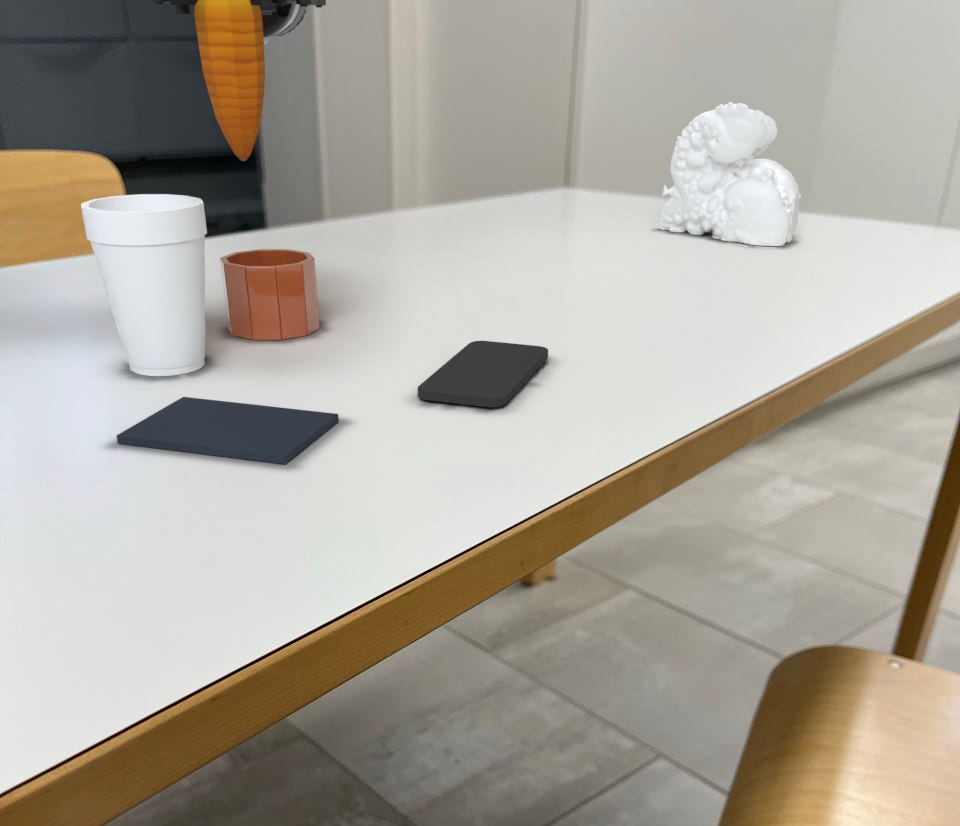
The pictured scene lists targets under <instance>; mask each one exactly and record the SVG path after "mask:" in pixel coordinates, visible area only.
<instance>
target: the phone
mask: <svg viewBox="0 0 960 826" xmlns="http://www.w3.org/2000/svg"><path fill="white" fill-rule="evenodd" d="M548 358H549V348H547V347H545V346H540V345H533V344H532V345H531V344H521V343H512V342H502V341H490V340H474V341H471V342H469V343H467V344H466V345H465V346H464V347H463V348H462V349H460V350H459V351H458V352H457V353H456V354H454V355H453V356H452V357H451V358H450V359H449V360H448V361H447V362H445V363H444V364H443V365H441V366H440V368H438V369H437V370H436V371H435V372H433V373H432V374H431V375H430V376H429V377H428V378H426V379H425V380H424V381H423V382H422V383H420V384H419V385H418V386H417V397H418V398H419V399H420V400H423V401H428V402H429V401H430V402H438V403H447V404H456V405H464V406H465V405H466V406H471V407H472V406H474V407H481V408H501V407H503V406H506V404H508V403H509V402H510V400H511V399H512V398H513V397H514V396H515V395H516V394H517V393H518V391H519V390H520V389H521V388H522V387H524V385H525V384H526V383H527V382H528V381H529V379H530V378H531V377H532V376H534V374H535V373H536V372H537V371H538V370H539V369H540V367H542V365H543V364H544V363H545V362H546V361H547V360H548Z"/></svg>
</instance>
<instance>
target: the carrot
mask: <svg viewBox="0 0 960 826" xmlns="http://www.w3.org/2000/svg"><path fill="white" fill-rule="evenodd" d="M193 11H194V22H195V30H196V36H197V43H198V50H199V55H200V61H201V62H200V63H201V69H202V74H203V77H204V81H205V85H206V88H207V92H208V96H209V98H210V102H211V105H212V109H213V113H214V116H215V119H216V120H217V123H218V125H219V127H220V129H221V132H222V134H223V136H224V139H226V142H227V143H228V145H229V147H230V149H231V150H232V152H233V154H234V155H235V157H237V158H238V159H239V160H240V161H241V162H246V161H247V160H248V158H249V157H250V156H251V154H252V152H253V149H254V146H255V144H256V141H257V138H258V135H259V129H260V126H261V122H262V117H263V109H264V107H263V106H264V98H265V81H266V80H265V79H266V63H265V44H264V39H263V24H262V14H261V10H260V7H259V6H258V5H251V1H250V0H198V1H197V3H196V4H195V5H194V10H193Z"/></svg>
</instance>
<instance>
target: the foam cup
mask: <svg viewBox="0 0 960 826" xmlns="http://www.w3.org/2000/svg"><path fill="white" fill-rule="evenodd" d="M80 207H81V208H80V209H81V213H82V219H83V224H84V225H83V226H84V230H85V236H86V240H88V241H90V245H91V248H92V252H93V255H94V258H95V262H96V265H97V267H98V271H99V273H100V274H99V275H100V277H101V279H102V280H101V281H102V284H103V287H104V291H105V293H106V297H107V300H108V303H109V307H110V310H111V313H112V316H113V320H114V322H115V326H116V329H117V332H118V336H119V338H120V342H121V344H122V346H121V347H122V349H123V352H124V355H125V358H126V362H127V364H129V365H128V366H129V370H130V372H133V373H135V374H137V375H139V376H140V375H141V376H149V377H171V376H178V375H185V374H188V373H192V372H196V371H199V370H200V369H201V368H202V367H204V366H205V365H206V362H205V357H206V235H207V234H208V229H207V221H206V212H205V203H204V201H203V199H202V198H201V197H196V196H190V195H185V194H184V195H183V194H172V193H171V194H169V193H140V194H139V193H138V194H126V195H125V194H124V195H112V196H111V195H110V196H106V197H99V198H93V199H90V200H87V201H84V202H81V203H80Z"/></svg>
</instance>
